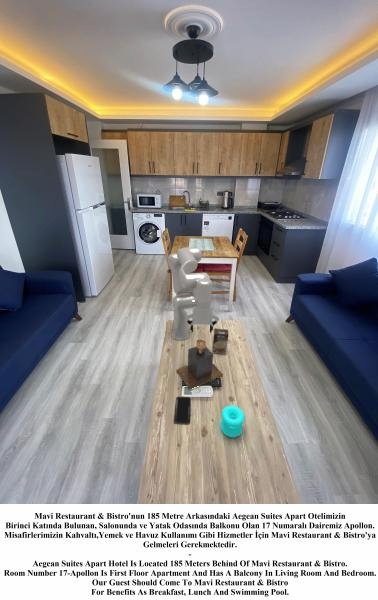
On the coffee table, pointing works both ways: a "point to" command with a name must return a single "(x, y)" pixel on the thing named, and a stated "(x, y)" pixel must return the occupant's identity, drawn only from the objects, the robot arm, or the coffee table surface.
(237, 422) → the donuts
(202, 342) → the plunger
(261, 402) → the coffee table surface
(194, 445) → the coffee table surface
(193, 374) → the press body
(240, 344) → the coffee table surface
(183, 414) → the phone
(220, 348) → the coffee box
